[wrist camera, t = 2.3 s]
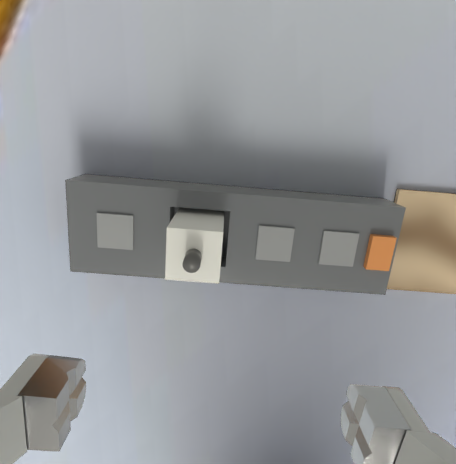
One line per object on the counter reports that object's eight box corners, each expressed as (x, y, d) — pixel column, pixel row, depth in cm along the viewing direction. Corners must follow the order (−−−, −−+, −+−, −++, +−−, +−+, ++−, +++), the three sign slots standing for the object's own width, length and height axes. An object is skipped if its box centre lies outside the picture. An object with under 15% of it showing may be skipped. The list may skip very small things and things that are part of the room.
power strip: (367, 276, 34) (388, 297, 30) (88, 255, 33) (67, 274, 29) (384, 198, 32) (409, 209, 27) (85, 174, 31) (61, 181, 27)
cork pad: (470, 293, 35) (474, 295, 34) (375, 286, 34) (377, 288, 34) (501, 197, 32) (505, 198, 31) (397, 188, 31) (399, 189, 31)
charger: (220, 251, 32) (218, 293, 23) (178, 248, 31) (161, 289, 23) (224, 210, 30) (223, 238, 22) (179, 206, 30) (162, 234, 22)
